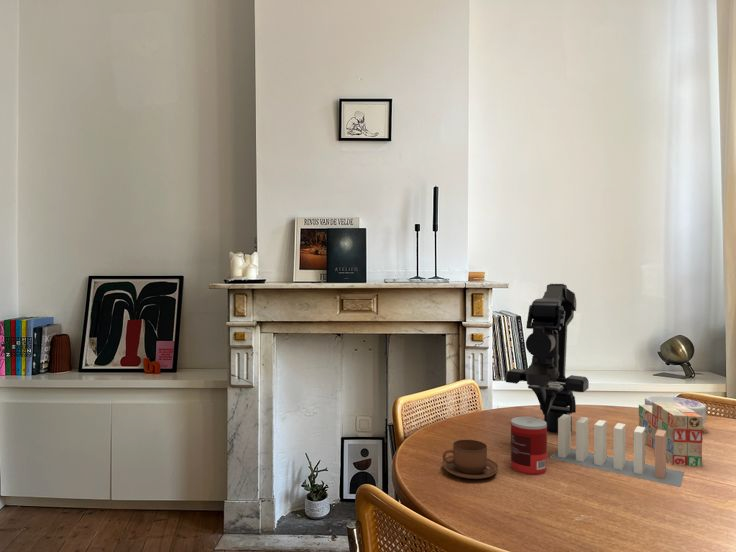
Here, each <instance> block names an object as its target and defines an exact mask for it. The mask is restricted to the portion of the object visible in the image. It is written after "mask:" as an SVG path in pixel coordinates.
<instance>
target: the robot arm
mask: <svg viewBox="0 0 736 552" xmlns="http://www.w3.org/2000/svg"><path fill="white" fill-rule="evenodd" d="M576 311H577V298H576V293H575V292H574V291H572V290H570V289H569V288H568V286H567V284H564V283H549V284H547V286H546V291H544V294H543V296H542V298H535V299H534V300H533V301H532V303H531V304H529V306H528V314H527V320H526V329H527V330H529V329H531V330H532V333H531V334H529V335H528V337H527V338H526V340H525V348H526V350H527V351H528V353H529V354H530V355H532V358H531V363H530V365H529V366H528V368H527V369H521V368H520V369H519V368H512V369H510V370H507V371H506V373H505V379H504V381H505V382H506V383H508V384H509V383H510V384H519V383H520V382H521V381H523V382H526V384H527V388H528V389H529V390H532V392H534V394H535V396H536V398H537V400H538V402H539V403H538V404H539V409H540V410H541V412H542V414H543V416H544V417H543V420H544V421H545V422H546V423H547V433H552V434H557V435H558V418H560V417H561V416H562V415H563V414H566V415H571V414H574V413H577V412H576V411H577V410H576V409H577V408H576V407H577V405H576V397H575V395H574V393H575V392H576V393H585V392H586V391H587V390H589V388H590V387H589V379H588V377H586V376H581V375H574V374H573V375H569V376H568V377H566V366H567V365H566V363H567V362H566V360H567V341H568V326H569V324H570V323H571V322H572V320H573V319H574V314H575V313H574V312H576ZM573 392H574V393H573ZM540 410H539V411H540ZM571 432H573V417H572V415H571Z"/></svg>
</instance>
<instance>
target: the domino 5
mask: <svg viewBox="0 0 736 552" xmlns="http://www.w3.org/2000/svg"><path fill="white" fill-rule="evenodd" d="M633 462H634V473H637V474H643V472H644V469H645V464H646V444H645V427H640V426H639V425H637V426H636V428H635V429H634V431H633Z"/></svg>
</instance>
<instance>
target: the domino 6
mask: <svg viewBox="0 0 736 552" xmlns="http://www.w3.org/2000/svg"><path fill="white" fill-rule="evenodd" d="M654 466H655V477H656V478H661V479H664V477H665V474H666V468H667V459H666V431H664V430H657V432H656V434H655V449H654Z"/></svg>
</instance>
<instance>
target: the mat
mask: <svg viewBox="0 0 736 552" xmlns="http://www.w3.org/2000/svg"><path fill="white" fill-rule="evenodd" d="M549 459H550V460H555V461H559V462H560V461H561V462H564V463H568V464H571V465H572V464H574V465H579V466H582V467H585V468H586V467H587V468H591V469H596V470H600V471H605V472H610V473H615V474H619V475H623V476H627V477H632V478H637V479H642V480H645V481H646V480H647V481H651V482H655V483H659V484H664V485H669V486H673V487H678V488H682V484H683V479H684V475H685V471H681V470H677V469H673V468H667V467H666V474H665V477H664V479H661V478H656V477H655V465H652V464H647V463H645V469H644V472H643V474H637V473H634V460H627V459H625V465H624V467H623V468H622V470H619V469H614V456H609V455H606V461H605V462H604V464H603V465H602V466H600V465H596V464H594V452H589V451H588V457H587V458H586V459H585V460H584V461H583V462H582V461H577V460H576V449H573V448H571V452H570V453H569V454H568V455H567V456H566V457H565V458H563V457H558V450H557V451H556V452H555V453H553V455H552V456H550V458H549Z"/></svg>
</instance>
